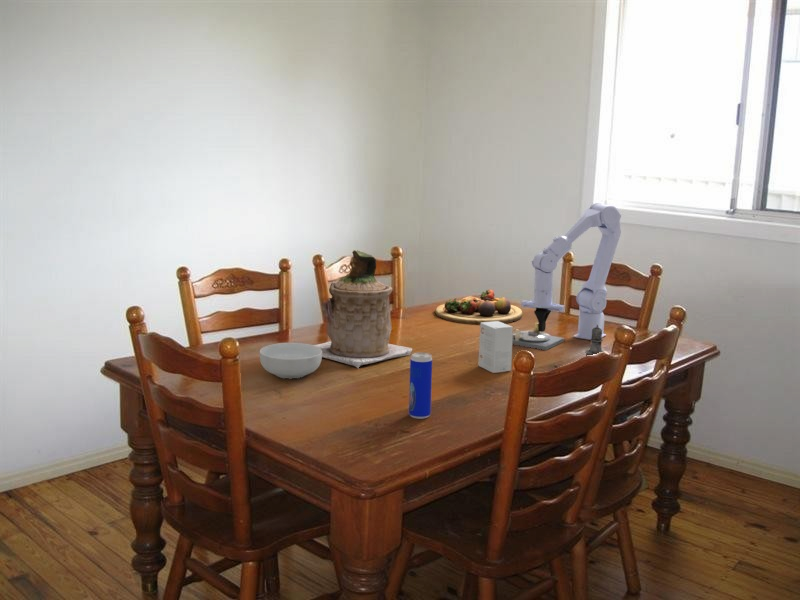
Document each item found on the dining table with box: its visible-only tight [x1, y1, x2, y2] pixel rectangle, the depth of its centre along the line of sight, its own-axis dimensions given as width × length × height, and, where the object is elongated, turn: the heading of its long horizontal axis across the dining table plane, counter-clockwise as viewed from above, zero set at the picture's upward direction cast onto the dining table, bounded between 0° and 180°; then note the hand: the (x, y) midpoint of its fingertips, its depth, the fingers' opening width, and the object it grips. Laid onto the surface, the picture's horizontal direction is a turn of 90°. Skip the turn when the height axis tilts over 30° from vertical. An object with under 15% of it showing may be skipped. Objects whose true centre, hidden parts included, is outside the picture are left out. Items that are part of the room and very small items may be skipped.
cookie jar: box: [312, 249, 413, 369], centre depth 252 cm, size 25×25×32 cm
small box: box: [477, 321, 514, 374], centre depth 242 cm, size 8×6×13 cm
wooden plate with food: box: [434, 289, 524, 325], centre depth 311 cm, size 32×32×8 cm
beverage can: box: [408, 352, 433, 420], centre depth 201 cm, size 5×5×15 cm
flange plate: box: [513, 322, 551, 342], centre depth 274 cm, size 11×13×4 cm
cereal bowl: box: [259, 342, 323, 380], centre depth 232 cm, size 17×17×7 cm
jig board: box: [512, 328, 565, 351], centre depth 274 cm, size 14×16×5 cm
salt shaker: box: [584, 325, 604, 357], centre depth 249 cm, size 6×6×12 cm
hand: (541, 330), depth 277 cm, fingers closed, pressing on flange plate
